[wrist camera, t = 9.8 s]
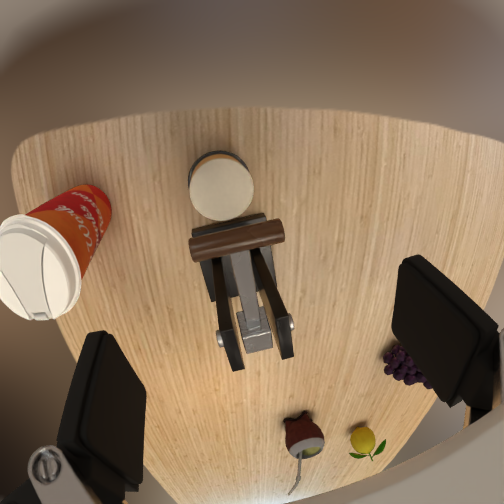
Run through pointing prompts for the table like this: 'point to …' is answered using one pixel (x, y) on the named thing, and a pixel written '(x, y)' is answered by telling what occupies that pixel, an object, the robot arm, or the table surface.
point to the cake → (220, 186)
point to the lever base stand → (225, 288)
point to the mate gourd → (302, 440)
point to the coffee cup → (51, 252)
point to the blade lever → (243, 273)
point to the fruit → (403, 367)
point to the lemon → (364, 442)
